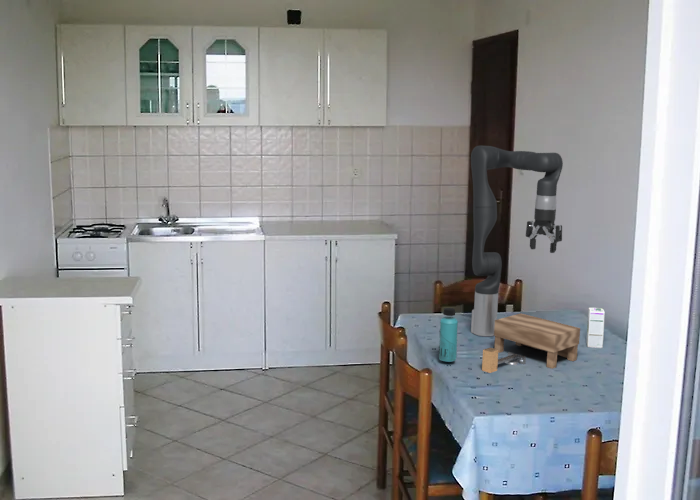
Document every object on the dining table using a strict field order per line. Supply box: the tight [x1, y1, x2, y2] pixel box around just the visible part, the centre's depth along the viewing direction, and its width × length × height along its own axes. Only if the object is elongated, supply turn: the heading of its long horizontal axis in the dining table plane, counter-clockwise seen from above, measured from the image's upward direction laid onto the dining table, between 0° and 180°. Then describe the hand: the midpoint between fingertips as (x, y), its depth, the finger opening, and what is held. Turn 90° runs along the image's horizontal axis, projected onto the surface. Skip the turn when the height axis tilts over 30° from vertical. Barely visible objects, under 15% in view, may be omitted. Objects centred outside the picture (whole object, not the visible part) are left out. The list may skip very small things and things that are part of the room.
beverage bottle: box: [438, 307, 459, 363], centre depth 275 cm, size 6×7×20 cm
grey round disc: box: [504, 360, 519, 366], centre depth 278 cm, size 4×4×1 cm
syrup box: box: [585, 307, 606, 349], centre depth 300 cm, size 6×6×14 cm
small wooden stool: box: [494, 312, 581, 369], centre depth 286 cm, size 16×26×12 cm, turn 42°
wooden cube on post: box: [481, 347, 527, 374], centre depth 274 cm, size 18×7×8 cm, turn 132°
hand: (542, 250), depth 288 cm, fingers open, 8 cm apart
